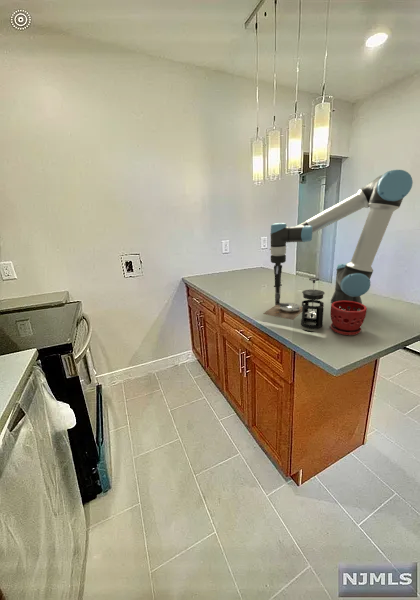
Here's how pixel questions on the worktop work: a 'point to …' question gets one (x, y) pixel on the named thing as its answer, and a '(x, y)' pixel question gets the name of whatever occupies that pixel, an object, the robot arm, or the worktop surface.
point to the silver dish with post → (286, 305)
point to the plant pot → (347, 317)
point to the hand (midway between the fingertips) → (277, 297)
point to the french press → (310, 315)
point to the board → (282, 313)
